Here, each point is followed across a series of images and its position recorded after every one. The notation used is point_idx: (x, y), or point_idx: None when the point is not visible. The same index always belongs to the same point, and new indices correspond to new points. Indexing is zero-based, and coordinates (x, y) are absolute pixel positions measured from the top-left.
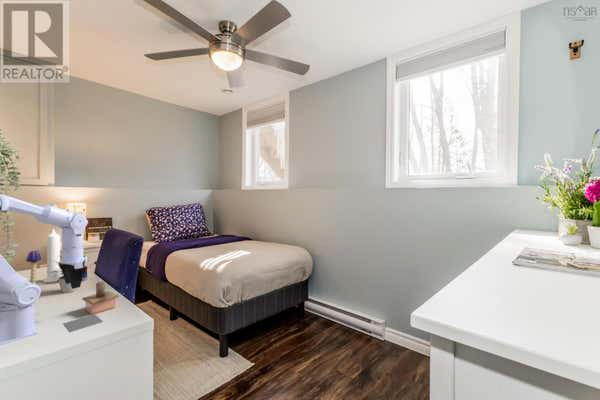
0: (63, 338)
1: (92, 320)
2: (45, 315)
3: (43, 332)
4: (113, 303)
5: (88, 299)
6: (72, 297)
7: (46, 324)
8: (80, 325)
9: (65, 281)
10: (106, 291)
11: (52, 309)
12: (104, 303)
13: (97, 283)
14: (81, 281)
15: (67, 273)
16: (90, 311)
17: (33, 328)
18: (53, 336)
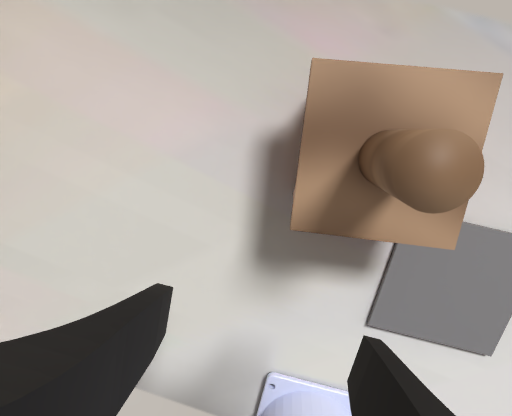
0: (508, 382)
1: (475, 256)
2: (187, 301)
3: None
4: None
5: (362, 229)
6: (25, 125)
7: (298, 344)
8: (472, 307)
9: (153, 355)
10: (317, 71)
11: (134, 256)
12: None
13: (426, 201)
14: (411, 373)
15: (107, 408)
16: None
17: (343, 413)
18: (448, 386)
